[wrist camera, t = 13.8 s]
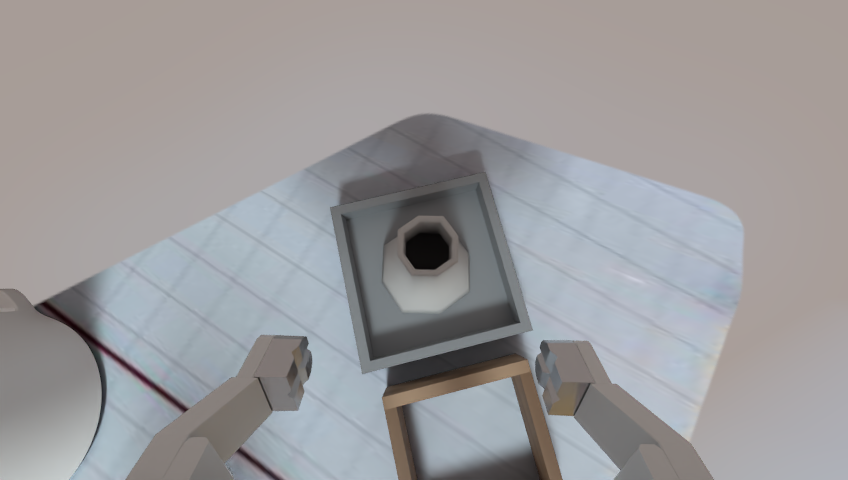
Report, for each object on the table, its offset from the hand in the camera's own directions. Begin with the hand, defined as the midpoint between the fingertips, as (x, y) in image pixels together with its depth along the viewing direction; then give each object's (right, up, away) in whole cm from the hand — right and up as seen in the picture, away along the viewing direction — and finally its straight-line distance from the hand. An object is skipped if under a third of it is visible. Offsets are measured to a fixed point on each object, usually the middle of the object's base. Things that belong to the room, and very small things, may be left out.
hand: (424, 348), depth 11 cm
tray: (0, +1, +15) cm, 15 cm away
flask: (0, +2, +15) cm, 15 cm away
